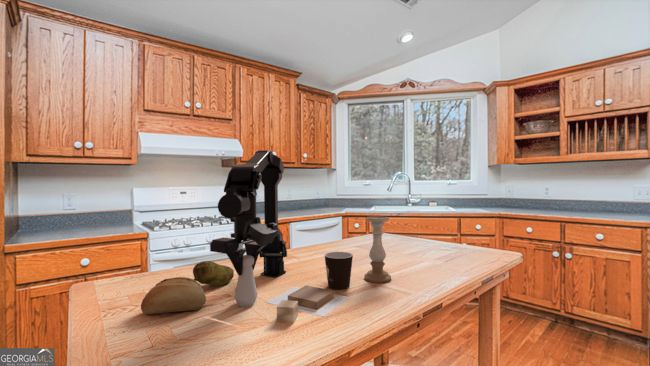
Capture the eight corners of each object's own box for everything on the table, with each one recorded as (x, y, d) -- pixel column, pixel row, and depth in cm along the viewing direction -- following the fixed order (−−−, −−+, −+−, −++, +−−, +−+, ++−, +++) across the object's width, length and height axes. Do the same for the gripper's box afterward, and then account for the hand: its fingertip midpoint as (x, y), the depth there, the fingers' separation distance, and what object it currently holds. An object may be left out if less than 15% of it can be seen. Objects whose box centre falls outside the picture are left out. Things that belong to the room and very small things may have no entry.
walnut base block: (287, 303, 83) (287, 295, 83) (306, 292, 91) (306, 285, 91) (316, 309, 78) (316, 301, 78) (333, 297, 86) (333, 290, 86)
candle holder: (382, 273, 109) (382, 215, 109) (396, 281, 101) (395, 218, 100) (359, 276, 106) (359, 216, 106) (371, 284, 98) (371, 219, 98)
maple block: (276, 324, 72) (276, 306, 72) (282, 316, 76) (281, 300, 76) (293, 325, 71) (293, 307, 71) (298, 317, 75) (297, 301, 75)
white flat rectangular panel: (265, 303, 83) (265, 302, 83) (295, 287, 95) (295, 286, 95) (324, 318, 74) (324, 316, 74) (349, 298, 87) (349, 296, 87)
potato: (238, 285, 98) (238, 259, 98) (194, 293, 92) (194, 265, 92) (231, 278, 105) (231, 254, 105) (190, 285, 99) (190, 259, 99)
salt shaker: (237, 301, 85) (236, 253, 85) (258, 300, 86) (258, 253, 86) (232, 310, 79) (232, 258, 79) (255, 309, 80) (255, 258, 80)
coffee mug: (351, 293, 90) (351, 259, 90) (322, 291, 92) (321, 257, 92) (355, 280, 102) (355, 250, 102) (329, 279, 104) (329, 249, 103)
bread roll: (145, 307, 82) (144, 277, 82) (206, 299, 87) (205, 271, 87) (137, 323, 73) (136, 289, 73) (205, 313, 78) (205, 281, 78)
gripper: (242, 219, 70) (242, 288, 70) (291, 211, 86) (291, 268, 87) (208, 217, 76) (208, 281, 76) (260, 210, 92) (260, 263, 92)
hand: (245, 272), depth 83 cm, fingers closed on salt shaker, 4 cm apart
